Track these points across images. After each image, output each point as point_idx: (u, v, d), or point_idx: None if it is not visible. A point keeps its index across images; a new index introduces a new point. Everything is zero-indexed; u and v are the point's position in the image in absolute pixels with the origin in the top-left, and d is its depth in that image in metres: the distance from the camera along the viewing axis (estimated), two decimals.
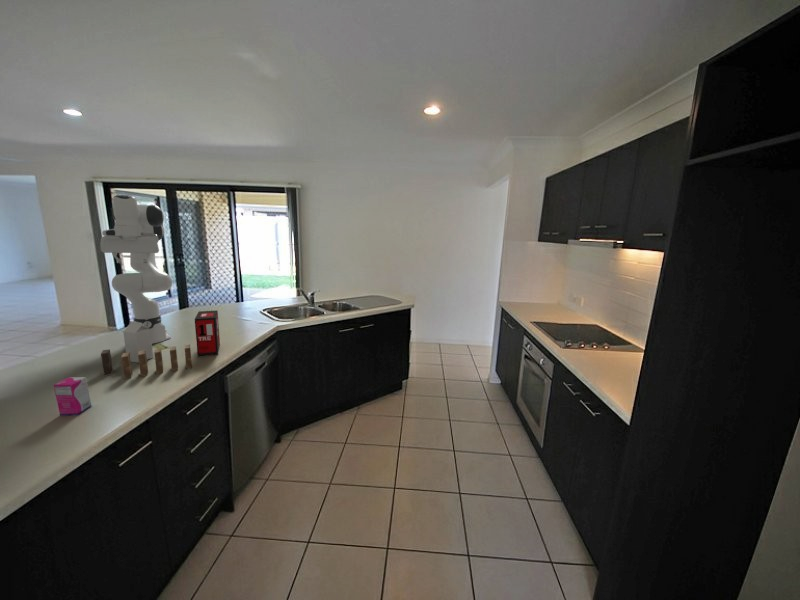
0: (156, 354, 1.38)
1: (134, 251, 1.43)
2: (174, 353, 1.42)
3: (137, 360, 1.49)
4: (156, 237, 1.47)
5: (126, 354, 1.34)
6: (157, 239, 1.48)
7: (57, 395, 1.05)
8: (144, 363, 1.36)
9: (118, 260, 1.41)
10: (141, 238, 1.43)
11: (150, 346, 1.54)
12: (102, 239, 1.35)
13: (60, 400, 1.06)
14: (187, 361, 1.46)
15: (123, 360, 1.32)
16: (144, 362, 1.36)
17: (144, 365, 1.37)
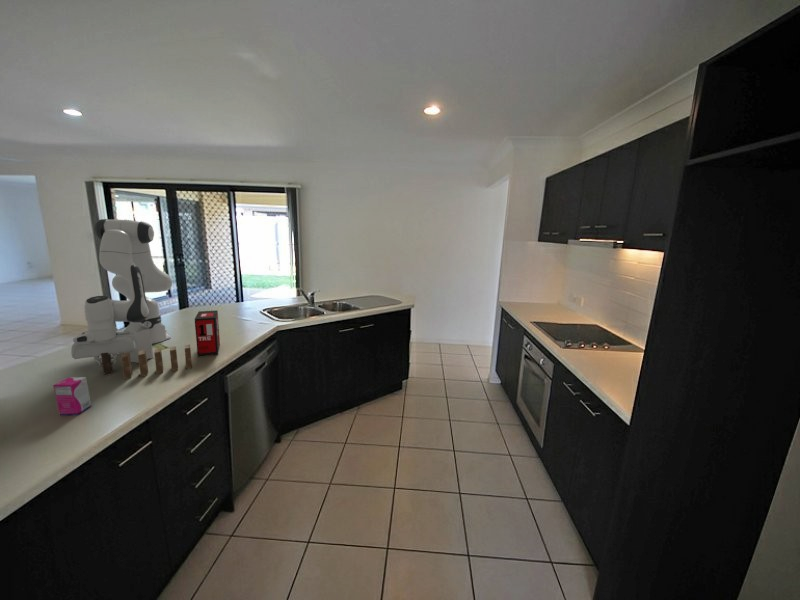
0: (156, 354, 1.38)
1: (108, 353, 1.36)
2: (174, 353, 1.42)
3: (137, 360, 1.49)
4: (132, 335, 1.40)
5: (126, 354, 1.34)
6: (133, 337, 1.41)
7: (57, 395, 1.05)
8: (144, 363, 1.36)
9: (100, 363, 1.36)
10: (115, 339, 1.36)
11: (149, 346, 1.54)
12: (73, 346, 1.29)
13: (60, 400, 1.06)
14: (187, 361, 1.46)
15: (123, 360, 1.32)
16: (144, 362, 1.36)
17: (144, 365, 1.37)
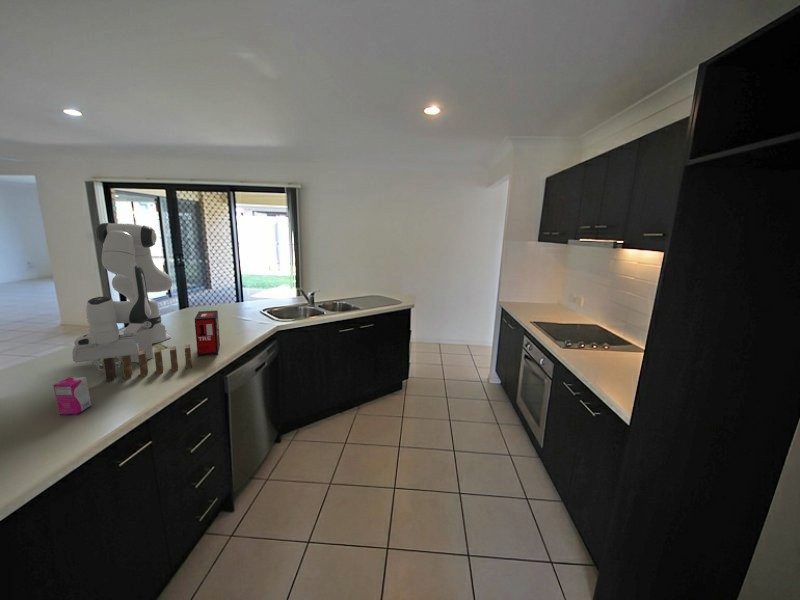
0: (156, 354, 1.38)
1: (111, 356, 1.30)
2: (174, 353, 1.42)
3: (137, 360, 1.49)
4: (136, 337, 1.35)
5: None
6: (137, 339, 1.35)
7: (57, 395, 1.05)
8: (144, 363, 1.36)
9: (99, 367, 1.30)
10: (118, 342, 1.31)
11: (150, 346, 1.54)
12: (74, 349, 1.23)
13: (60, 400, 1.06)
14: (187, 361, 1.46)
15: (124, 360, 1.32)
16: (144, 362, 1.36)
17: (144, 365, 1.37)
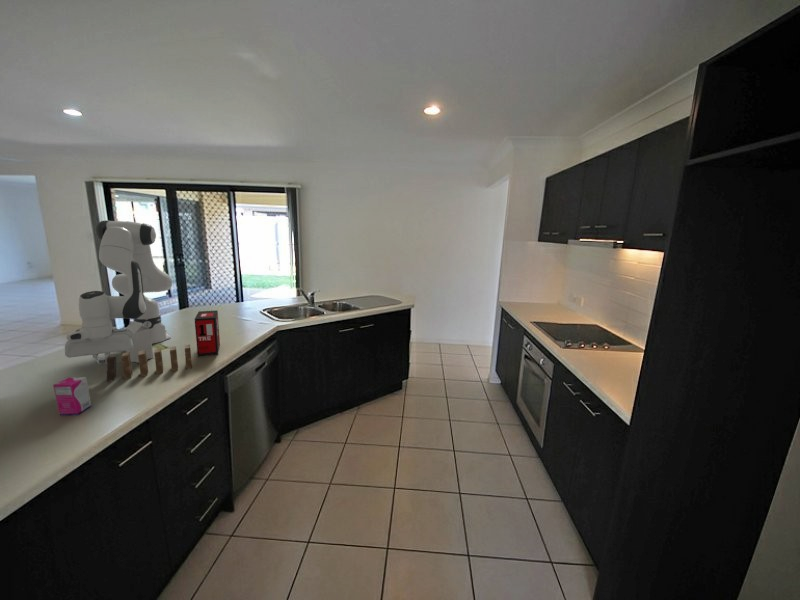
0: (156, 354, 1.38)
1: (104, 351, 1.29)
2: (174, 353, 1.42)
3: (137, 360, 1.49)
4: (129, 333, 1.33)
5: (126, 354, 1.34)
6: (130, 334, 1.34)
7: (57, 395, 1.05)
8: (144, 363, 1.36)
9: (99, 361, 1.29)
10: (111, 337, 1.29)
11: (149, 346, 1.54)
12: (66, 344, 1.22)
13: (60, 400, 1.06)
14: (187, 361, 1.46)
15: (123, 360, 1.32)
16: (144, 362, 1.36)
17: (144, 365, 1.37)
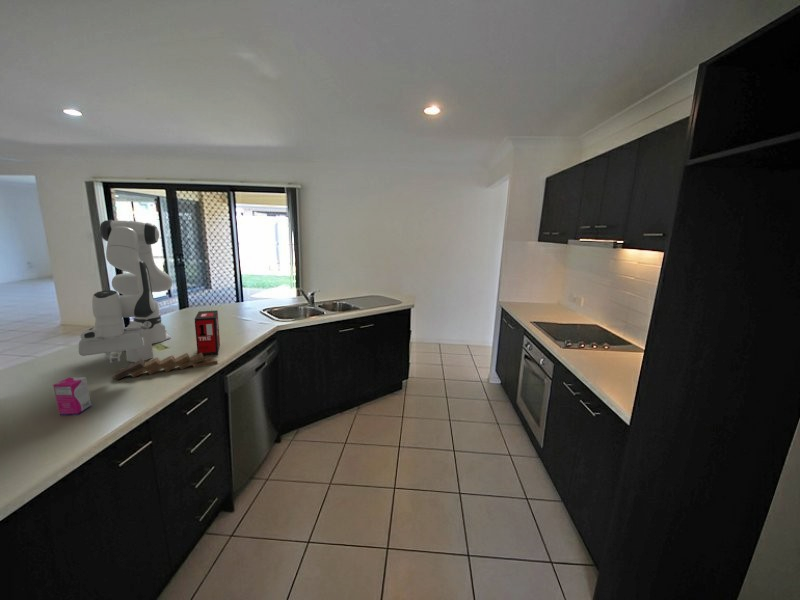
0: (185, 358, 1.45)
1: (116, 350, 1.31)
2: (199, 360, 1.48)
3: (137, 360, 1.49)
4: (141, 331, 1.35)
5: (158, 361, 1.41)
6: (142, 333, 1.36)
7: (57, 395, 1.05)
8: (163, 367, 1.41)
9: (112, 359, 1.31)
10: (123, 336, 1.31)
11: (150, 346, 1.54)
12: (80, 342, 1.24)
13: (60, 400, 1.06)
14: (201, 364, 1.49)
15: (152, 364, 1.38)
16: (164, 366, 1.41)
17: (161, 368, 1.40)
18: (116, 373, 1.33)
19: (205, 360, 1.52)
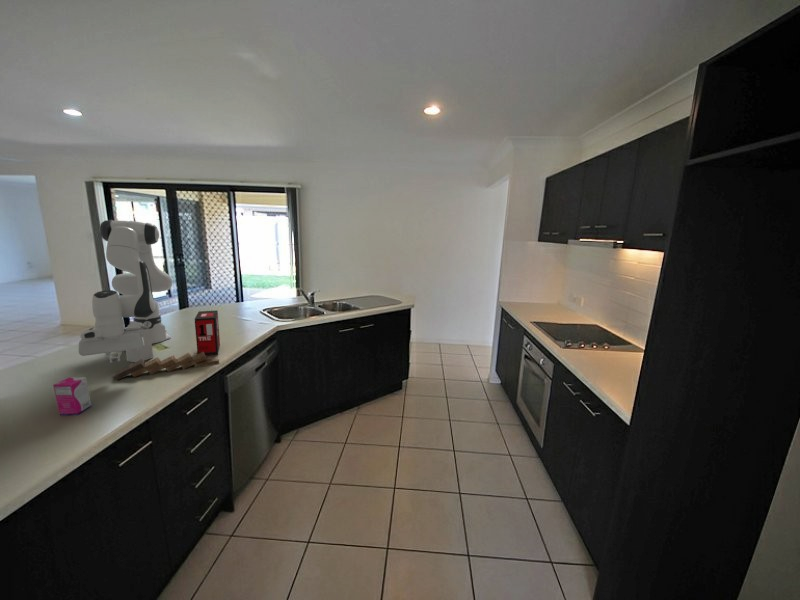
0: (187, 358, 1.45)
1: (116, 350, 1.31)
2: (202, 359, 1.49)
3: (137, 360, 1.49)
4: (141, 331, 1.35)
5: (159, 361, 1.41)
6: (142, 333, 1.36)
7: (57, 395, 1.05)
8: (164, 367, 1.41)
9: (112, 359, 1.31)
10: (123, 336, 1.31)
11: (149, 346, 1.54)
12: (80, 342, 1.24)
13: (60, 400, 1.06)
14: (203, 364, 1.50)
15: (153, 364, 1.38)
16: (165, 366, 1.41)
17: (162, 368, 1.40)
18: (116, 373, 1.33)
19: (206, 360, 1.53)
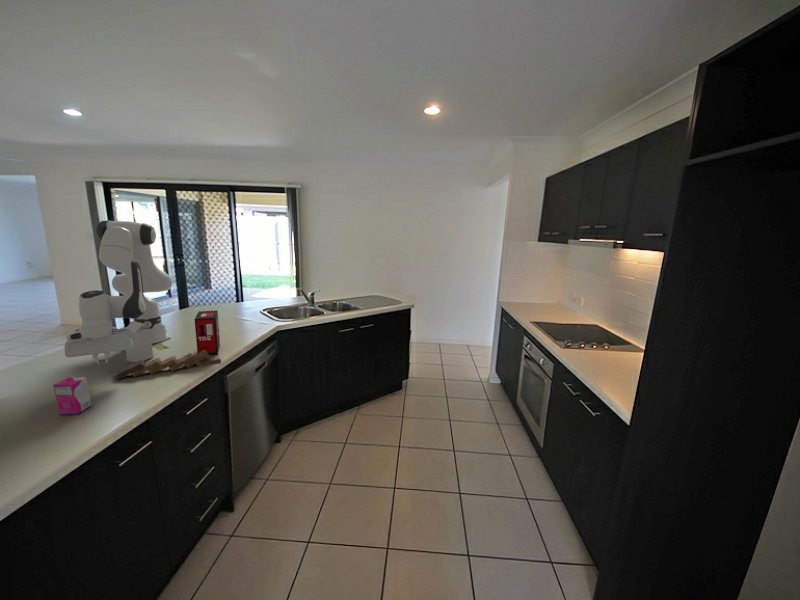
0: (190, 358, 1.46)
1: (104, 351, 1.29)
2: (205, 357, 1.51)
3: (137, 360, 1.49)
4: (129, 332, 1.33)
5: (159, 361, 1.41)
6: (130, 334, 1.34)
7: (57, 395, 1.05)
8: (165, 367, 1.41)
9: (99, 361, 1.29)
10: (111, 336, 1.29)
11: (149, 346, 1.54)
12: (66, 344, 1.21)
13: (60, 400, 1.06)
14: (205, 362, 1.51)
15: (153, 364, 1.38)
16: (166, 366, 1.41)
17: (162, 368, 1.41)
18: (117, 373, 1.33)
19: (208, 358, 1.54)
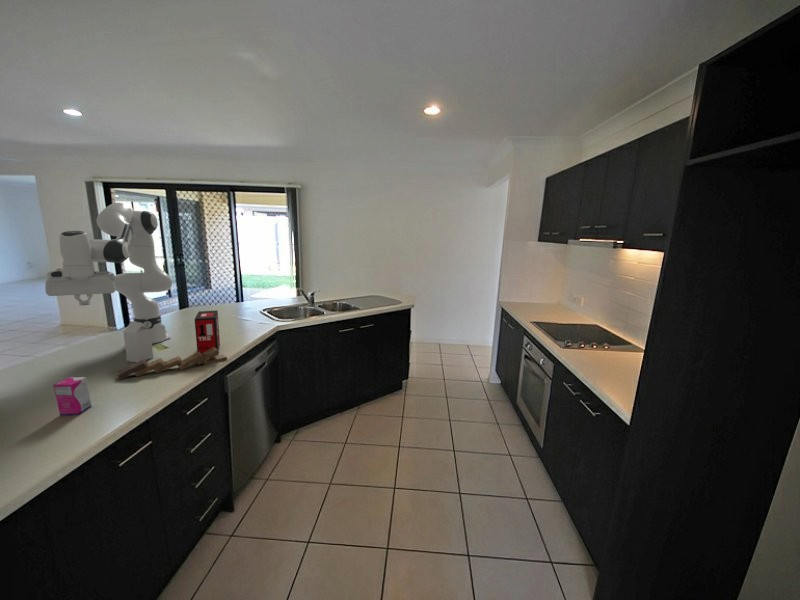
0: (199, 356, 1.48)
1: (86, 292, 1.28)
2: (215, 353, 1.54)
3: (137, 360, 1.49)
4: (112, 275, 1.33)
5: (162, 362, 1.42)
6: (113, 278, 1.33)
7: (57, 395, 1.05)
8: (170, 367, 1.42)
9: (81, 302, 1.28)
10: (93, 278, 1.28)
11: (149, 346, 1.54)
12: (47, 281, 1.21)
13: (60, 400, 1.06)
14: (212, 361, 1.53)
15: (157, 364, 1.39)
16: (171, 366, 1.42)
17: (167, 367, 1.42)
18: (119, 373, 1.34)
19: (214, 357, 1.56)
